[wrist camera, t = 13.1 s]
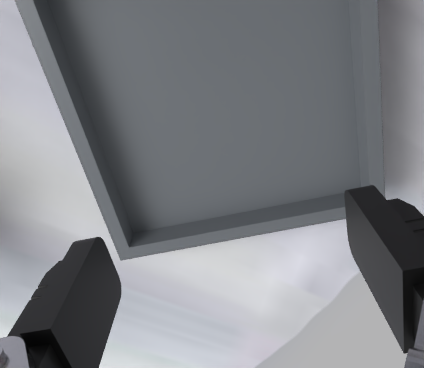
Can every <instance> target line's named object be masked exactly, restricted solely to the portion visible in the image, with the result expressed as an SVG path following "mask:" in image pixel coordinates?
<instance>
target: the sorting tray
mask: <svg viewBox="0 0 424 368" xmlns="http://www.w3.org/2000/svg"><path fill="white" fill-rule="evenodd" d="M15 2H16V5H17V7H18V9H19V12H20V14H21V17H22V19H23V22H24V24H25V27H26V29H27V32H28V34H29V36H30V39H31V41H32V44H33V46H34V49H35V51H36V54H37V56H38V59H39V61H40V63H41V66H42V68H43V71H44V73H45V76H46V78H47V81H48V83H49V86H50V88H51V91H52V93H53V95H54V98H55V100H56V103H57V105H58V108H59V110H60V113H61V115H62V118H63V120H64V122H65V125H66V127H67V130H68V132H69V135H70V137H71V140H72V142H73V145H74V147H75V149H76V152H77V154H78V157H79V159H80V162H81V164H82V167H83V169H84V172H85V174H86V177H87V179H88V181H89V184H90V186H91V189H92V191H93V194H94V196H95V199H96V201H97V204H98V206H99V208H100V211H101V213H102V216H103V218H104V221H105V223H106V226H107V228H108V231H109V233H110V235H111V238H112V240H113V243H114V245H115V248H116V250H117V253H118V255H119V258H120V260H126V259H132V258H137V257H142V256H148V255H153V254H158V253H164V252H169V251H175V250H180V249H185V248H191V247H196V246H202V245H207V244H212V243H218V242H223V241H228V240H234V239H239V238H245V237H250V236H255V235H261V234H266V233H272V232H277V231H282V230H288V229H293V228H298V227H304V226H309V225H315V224H320V223H325V222H331V221H336V220H342V219H346V211H345V199H344V193H345V190H348V189H354V188H359V187H364V186H369V185H374V186H375V187H376V188H377V189H378V190H379V192H380V193H381V194H382V195H383V196H384V197H385V185H384V158H383V131H382V104H381V78H380V51H379V24H378V0H15Z"/></svg>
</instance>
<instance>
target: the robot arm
mask: <svg viewBox="0 0 424 368" xmlns="http://www.w3.org/2000/svg"><path fill="white" fill-rule="evenodd" d="M344 199H345V211H346V222H347V233H348V241H349V246H350V249H351V253H352V255H353V258H354V260H355V262H356V264H357V265H358V267H359V269H360V271H361V273H362V275H363V277H364V278H365V281H366V282H367V284H368V286H369V288H370V290H371V292H372V294H373V296H374V298H375V300H376V301H377V303H378V305H379V307H380V309H381V311H382V313H383V315H384V316H385V319H386V320H387V322H388V324H389V326H390V328H391V330H392V332H393V334H394V335H395V337H396V339H397V341H398V343H399V345H400V347H401V349H402V351H403V353H408V354H407V358H406V362H405V367H404V368H424V216H423V215H422V214H421V213H420V212H419V211H418V210H417V209H416V208H415V206H413V205H410V204H408V203H406V202H404V201H402V200H400V199H398V198H397V199H392V200H386V199H385V197H384V196H383V195H382V194H381V193H380V192H379V190H378V189H377V188H376V187H375V186H374V185H369V186H364V187H359V188H354V189H348V190H345V193H344ZM120 298H121V282H120V278H119V276H118V273H117V271H116V268H115V266H114V264H113V261H112V259H111V256H110V254H109V252H108V249H107V247H106V244H105V242H104V241H103V239H102V238H101V237H95V238H90V239H85V240H80V241H75V242H73V244H72V245H71V247H70V248H69V250H68V252H67V254H66V255H65V257H64V259H63V260H62V261H59V262H58V263H57V264H56V265H55V266H54V267H52V268H51V269H50V270H49V271H48V272H47V273H46V274H45V276H44V278H43V279H42V281H41V282H40V284H39V286H38V289H36V291H35V292H34V294H33V295H32V297H31V300H29V302H28V304H27V305H26V307H25V308H24V310H23V312H22V313H21V315H20V316H19V318H18V320H17V321H16V323H15V325H14V326H13V328H12V329H11V331H10V333H9V334H8V336H7V337H3V338H0V368H99V365H100V362H101V358H102V355H103V352H104V349H105V346H106V343H107V339H108V336H109V333H110V330H111V327H112V324H113V321H114V317H115V314H116V311H117V308H118V305H119V302H120Z"/></svg>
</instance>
